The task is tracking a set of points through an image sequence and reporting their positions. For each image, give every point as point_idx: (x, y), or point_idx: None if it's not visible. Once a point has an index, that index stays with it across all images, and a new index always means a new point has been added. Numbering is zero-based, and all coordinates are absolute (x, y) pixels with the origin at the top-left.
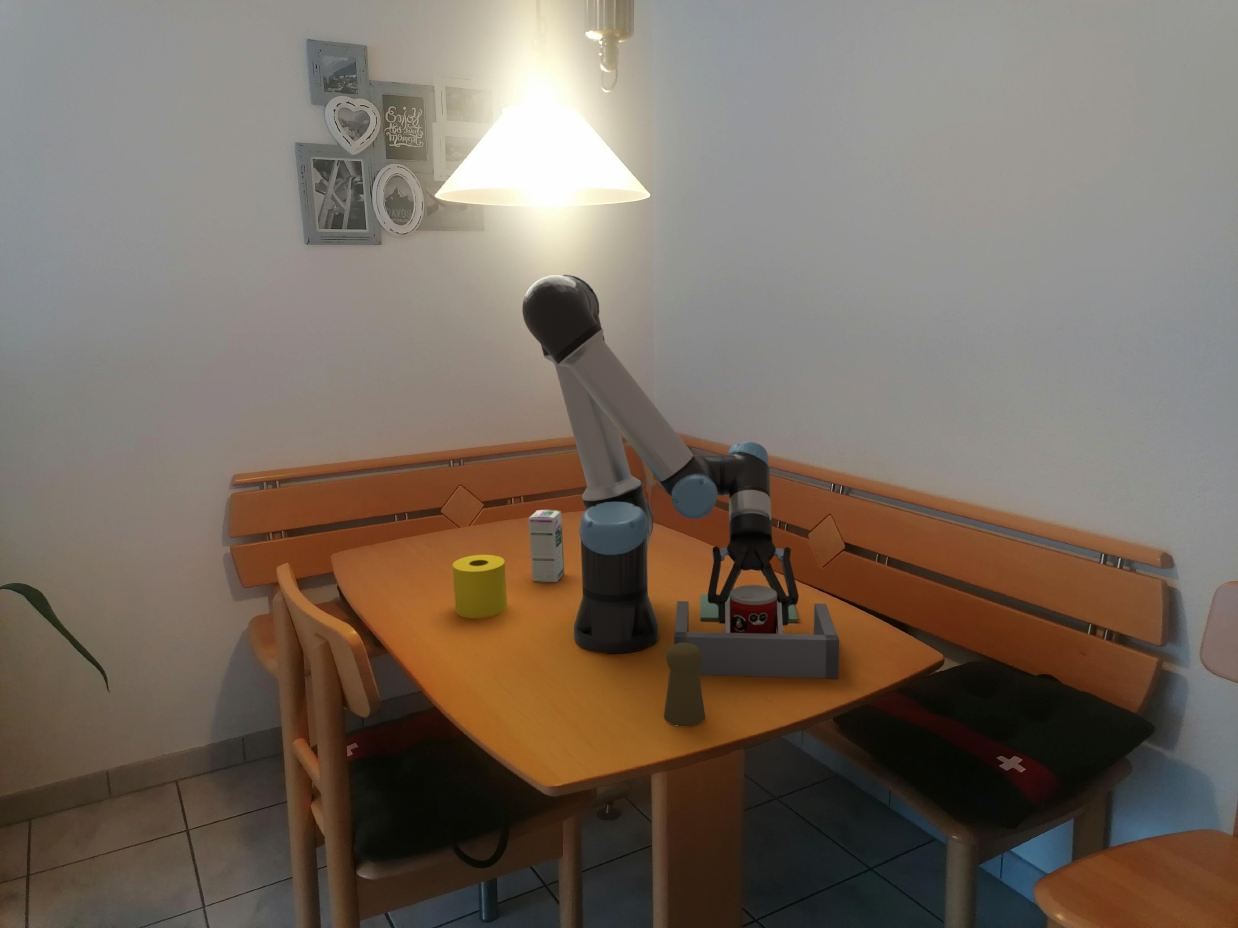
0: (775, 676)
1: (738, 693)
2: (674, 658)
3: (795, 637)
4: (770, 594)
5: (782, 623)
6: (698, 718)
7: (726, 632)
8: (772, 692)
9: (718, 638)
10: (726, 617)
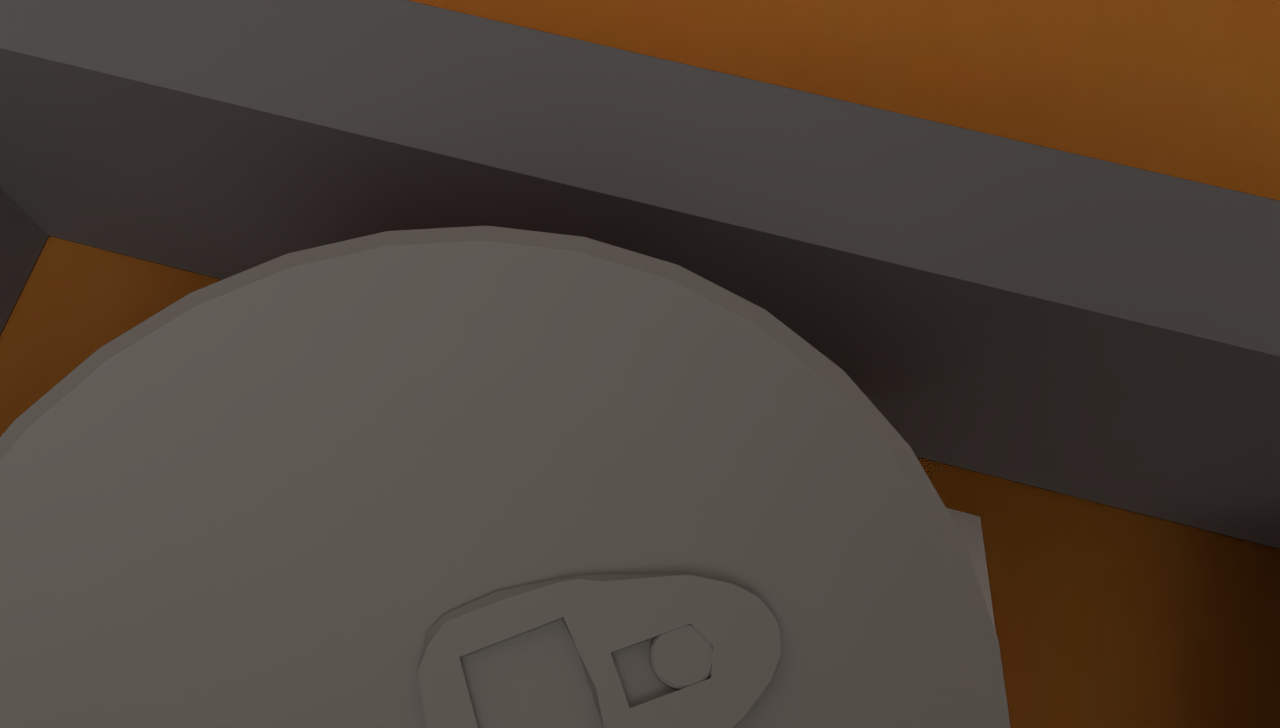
0: None
1: (909, 44)
2: None
3: (205, 7)
4: (46, 630)
5: None
6: None
7: (971, 561)
8: (633, 11)
9: (1174, 188)
10: None
